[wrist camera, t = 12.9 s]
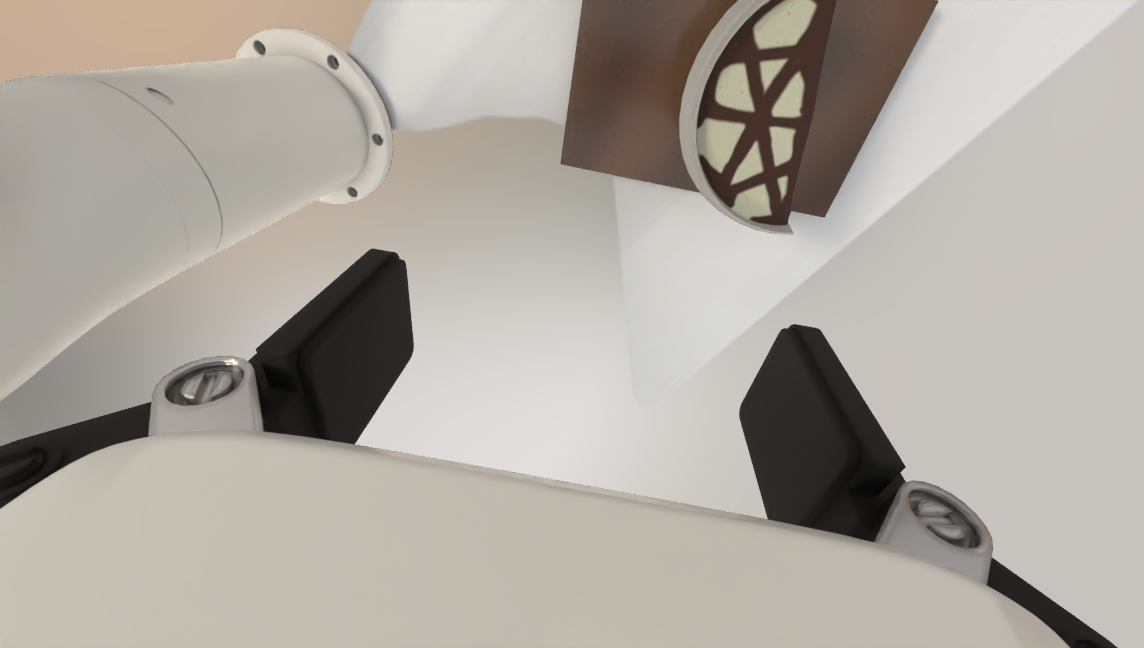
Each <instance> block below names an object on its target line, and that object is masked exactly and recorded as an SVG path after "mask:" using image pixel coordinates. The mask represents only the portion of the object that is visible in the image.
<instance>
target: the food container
mask: <svg viewBox="0 0 1144 648" xmlns="http://www.w3.org/2000/svg"><path fill="white" fill-rule="evenodd" d="M835 5H836V0H738V1H737V2H736V3H735V4H734V5H733V6H732V7H731V8H730V9H729V10H728V11H727V12H726V13H725V14H724V16H723V17H722V18H721V20H720V21H719V22H718V23H717V25H716V26H715V27H714V29H713V30H712V31H711V32H710V34H709V36H708V37H707V39H706V41H705V43H704V44H703V46H702V48H701V49H700V51H699V53H698V54H697V57H696V59H695V61H694V64H693V66H692V68H691V71H690V73H689V75H688V79H687V82H686V86H685V89H684V93H683V96H682V103H681V110H680V117H679V129H680V143H681V149H682V155H683V158H684V161H685V164H686V167H687V170H688V173H689V175H690V176H691V178H692V180H693V182H694V184H695V185H696V187H697V189H698V190H699V191H700V192H701V193H702V195H703V196H704V197H705V198H706V200H707V201H709V202H710V203H711V204H712V205H713V206H714V207H716V208H717V209H718V210H719V211H720V212H722V213H723V214H725V215H726V216H728V217H730V218H731V219H733V220H735V221H736V222H738V223H740V224H742V225H744V226H747V227H750V228H752V229H755V230H759V231H764V232H768V233H775V234H791V235H793V232H792V230H791V227H790V225H789V223H788V218H789V215H790V212H791V203H792V197H793V193H794V188H795V184H796V180H797V176H798V172H799V168H800V163H801V159H802V155H803V152H804V148H805V144H806V141H807V137H808V133H809V130H810V126H811V122H812V118H813V114H814V108H815V103H816V97H817V91H818V86H819V80H820V75H821V70H822V65H823V60H824V55H825V50H826V46H827V41H828V37H829V32H830V27H831V23H832V18H833V14H834V9H835Z"/></svg>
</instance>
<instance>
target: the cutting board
mask: <svg viewBox="0 0 1144 648" xmlns="http://www.w3.org/2000/svg"><path fill="white" fill-rule="evenodd" d="M737 1H738V0H583V2H582V9H581V17H580V24H579V31H578V39H577V46H576V53H575V61H574V68H573V76H572V83H571V90H570V98H569V105H568V112H567V120H566V127H565V135H564V143H563V150H562V157H561V164H562V165H567V166H572V167H577V168H582V169H587V170H592V171H597V172H602V173H607V174H612V175H616V176H621V177H626V178H631V179H636V180H641V181H646V182H651V183H656V184H661V185H666V186H671V187H676V188H681V189H686V190H691V191H695V192H700V191H699V190H698V189H697V187H696V185H695V184H694V182H693V180H692V178H691V176H690V175H689V173H688V170H687V167H686V164H685V161H684V158H683V155H682V149H681V143H680V129H679V117H680V110H681V103H682V96H683V93H684V89H685V86H686V82H687V79H688V75H689V73H690V71H691V68H692V66H693V64H694V61H695V59H696V57H697V54H698V53H699V51H700V49H701V48H702V46H703V44H704V43H705V41H706V39H707V37H708V36H709V34H710V32H711V31H712V30H713V29H714V27H715V26H716V25H717V23H718V22H719V21H720V20H721V18H722V17H723V16H724V14H725V13H726V12H727V11H728V10H729V9H730V8H731V7H732V6H733V5H734V4H735V3H736V2H737ZM937 3H938V0H836V5H835V9H834V14H833V18H832V23H831V27H830V32H829V37H828V41H827V46H826V50H825V55H824V60H823V65H822V70H821V75H820V80H819V86H818V91H817V97H816V103H815V108H814V114H813V118H812V122H811V126H810V130H809V133H808V137H807V141H806V144H805V148H804V152H803V155H802V159H801V163H800V168H799V172H798V176H797V180H796V184H795V188H794V193H793V197H792V203H791V211H794V212H799V213H804V214H809V215H814V216H819V217H825V215H826V213H827V212H828V210H829V208H830V206H831V204H832V202H833V200H834V198H835V196H836V195H837V193H838V191H839V189H840V187H841V185H842V183H843V181H844V179H845V177H846V176H847V174H848V172H849V170H850V168H851V166H852V164H853V162H854V160H855V158H856V157H857V155H858V153H859V151H860V149H861V147H862V145H863V143H864V141H865V140H866V138H867V136H868V134H869V132H870V130H871V128H872V126H873V124H874V122H875V121H876V119H877V117H878V115H879V113H880V111H881V109H882V107H883V105H884V104H885V102H886V100H887V98H888V96H889V94H890V92H891V90H892V88H893V86H894V85H895V83H896V81H897V79H898V77H899V75H900V73H901V71H902V69H903V68H904V66H905V64H906V62H907V60H908V58H909V56H910V54H911V52H912V50H913V49H914V47H915V45H916V43H917V41H918V39H919V37H920V35H921V33H922V31H923V30H924V28H925V26H926V24H927V22H928V20H929V18H930V16H931V14H932V13H933V11H934V9H935V7H936V5H937ZM700 193H701V192H700Z"/></svg>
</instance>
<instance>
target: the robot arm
mask: <svg viewBox="0 0 1144 648" xmlns="http://www.w3.org/2000/svg"><path fill="white" fill-rule="evenodd" d="M338 62H339V63H338ZM381 137H382V138H381ZM382 139H383V140H382ZM392 155H393V136H392V130H391V125H390V121H389V117H388V114H387V112H386V109H385V107H384V104H383V101H382V99H381V98H380V96H379V94H378V92H377V90H376V89H375V87H374V85H373V83H372V82H371V81H370V79H369V78H368V77H367V75H366V74H365V73H364V71H363V70H362V69H361V68H360V67H359V66H358V65H357V64H356V63H355V62H354V61H353V60H352V58H351V57H350V56H349V55H348V54H346V53H345V52H344V51H342V50H341V49H339V48H338V47H337V46H335V45H334V44H333V43H331V42H329V41H328V40H326V39H324V38H322V37H320V36H318V35H316V34H313V33H310V32H307V31H303V30H300V29H288V28H279V29H268V30H265V31H262V32H259V33H256V34H254V35H253V36H252V37H251V38H249V39H248V40H246V41H245V42H244V44H243V45H242V46H241V47H240V49H239V50H238V52H237V53H236V56H235V58H234V59H226V60H213V61H202V62H190V63H179V64H167V65H156V66H143V67H133V68H120V69H109V70H97V71H86V72H74V73H63V74H52V75H40V76H29V77H24V78H18V79H13V80H9V81H5V82H2V83H0V401H1V400H2V399H4V398H5V397H6V396H7V395H9V394H10V393H11V392H13V391H14V390H16V389H17V388H18V387H19V386H21V385H22V384H23V383H24V382H25V381H27V380H28V379H29V378H31V377H32V376H33V375H34V374H35V373H36V372H38V371H39V370H40V369H41V368H43V367H44V366H45V365H46V364H47V363H49V362H50V361H51V360H52V359H53V358H54V357H56V356H57V355H58V354H59V353H61V352H62V351H63V350H64V349H65V348H66V347H68V346H69V345H70V344H72V343H73V342H74V341H75V340H77V339H78V338H79V337H80V336H82V335H83V334H84V333H86V332H87V331H88V330H89V329H91V328H92V327H93V326H95V325H96V324H97V323H99V322H101V321H102V320H103V319H105V318H106V317H108V316H109V315H111V314H112V313H113V312H115V311H116V310H118V309H120V308H121V307H123V306H124V305H126V304H128V303H129V302H131V301H132V300H134V299H135V298H137V297H139V296H140V295H142V294H144V293H145V292H147V291H148V290H150V289H152V288H154V287H156V286H157V285H159V284H161V283H163V282H165V281H166V280H168V279H170V278H172V277H173V276H175V275H177V274H179V273H181V272H182V271H184V270H186V269H188V268H190V267H192V266H193V265H196V264H197V263H199V262H201V261H203V260H205V259H207V258H208V257H211V256H213V255H215V254H217V253H219V252H220V251H222V250H224V249H226V248H228V247H230V246H232V245H233V244H235V243H237V242H239V241H241V240H243V239H245V238H247V237H249V236H250V235H252V234H254V233H256V232H258V231H260V230H261V229H263V228H265V227H267V226H269V225H271V224H273V223H275V222H276V221H278V220H280V219H282V218H284V217H286V216H287V215H289V214H291V213H293V212H295V211H297V210H299V209H301V208H302V207H304V206H306V205H308V204H310V203H312V202H314V201H315V200H318V201H321V202H325V203H333V204H346V203H352V202H355V201H358V200H361V199H363V198H365V197H366V196H368V195H370V194H371V193H373V192H374V191H375V190H376V189H377V188H378V187H380V185H381V184H382V182H383V181H384V179H385V178H386V177H387V174H388V171H389V169H390V166H391V162H392ZM413 348H414V343H413V333H412V322H411V311H410V301H409V291H408V280H407V269H406V263H405V261H404V260H401V259H399V256H398V254H397V253H395V252H389V251H384V250H378V249H370V250H369V251H368V252H366V253H365V254H364V255H363V256H362V257H361V258H360V259H359V260H357V261H356V262H355V263H354V264H353V265H352V266H350V267H349V268H348V269H347V270H346V271H345V272H344V273H343V274H341V275H340V276H339V277H338V278H337V279H336V280H334V281H333V282H332V283H331V284H330V285H329V286H328V287H326V288H325V289H324V290H323V291H322V292H321V293H320V294H318V295H317V296H316V297H315V298H314V299H313V300H311V301H310V302H309V303H308V304H307V305H306V306H305V307H304V308H302V309H301V310H300V311H299V312H298V313H297V314H295V315H294V316H293V317H292V318H291V319H290V320H289V321H288V322H286V323H285V324H284V325H283V326H282V327H281V328H279V329H278V330H277V331H276V332H275V333H274V334H273V335H271V336H270V337H269V338H268V339H267V340H266V341H264V342H263V343H262V344H261V345H260V346H259V347H258V348H257V349H256V351H257V354H255V355H254V356H253V357H252V358H251V359H250V360H249V361H248V362H247V361H246V360H244V359H242V358H238V357H234V356H216V357H209V358H203V359H200V360H196V361H193V362H190V363H188V364H185V365H183V366H181V367H179V368H177V369H175V370H173V371H172V372H171V373H169V374H168V375H166V376H165V377H163V378H162V379H161V381H160V382H159V383H158V384H157V385H156V386H155V389H154V391H153V394H152V401H151V402H149V403H146V404H143V405H139V406H135V407H132V408H128V409H125V410H121V411H118V412H114V413H111V414H108V415H104V416H100V417H97V418H93V419H90V420H86V421H83V422H80V423H76V424H72V425H69V426H66V427H62V428H59V429H55V430H52V431H48V432H45V433H41V434H38V435H34V436H31V437H27V438H24V439H20V440H17V441H14V442H11V443H9V444H6V445H3V446H0V648H1117V647H1116V646H1115V645H1114V644H1112V643H1111V642H1110V641H1109V640H1107V639H1106V638H1104V637H1103V636H1102V635H1100V634H1099V633H1097V632H1096V631H1094V630H1093V629H1092V628H1090V627H1089V626H1087V625H1086V624H1085V623H1083V622H1082V621H1080V620H1079V619H1078V618H1076V617H1075V616H1074V615H1072V614H1071V613H1069V612H1068V611H1066V610H1065V609H1064V608H1062V607H1061V606H1059V605H1058V604H1057V603H1055V602H1054V601H1052V600H1051V599H1050V598H1048V597H1047V596H1045V595H1044V594H1043V593H1041V592H1040V591H1038V590H1037V589H1036V588H1034V587H1033V586H1031V585H1030V584H1028V583H1027V582H1026V581H1024V580H1023V579H1021V578H1020V577H1019V576H1017V575H1016V574H1014V573H1013V572H1012V571H1010V570H1009V569H1007V568H1006V567H1005V566H1003V565H1001V564H1000V563H999V562H998V561H996V560H995V559H993V558H992V552H993V544H992V537H991V536H990V533H989V531H988V529H987V527H986V526H985V524H984V523H983V522H982V521H981V519H980V518H979V517H978V515H977V514H976V513H975V512H973V511H972V510H971V509H970V508H969V507H968V506H967V505H966V504H965V503H964V502H962V501H961V500H959V499H958V498H957V497H955V496H954V495H952V494H951V493H949V492H947V491H945V490H943V489H941V488H940V487H938V486H935V485H932V484H929V483H926V482H922V481H909V482H905V480H904V478H903V477H902V475H901V473H900V472H901V471H902V470H903V469H904V468H905V465H904V463H903V462H902V460H901V459H900V457H899V455H898V454H897V452H896V451H895V449H894V448H893V446H892V444H891V443H890V441H889V439H888V438H887V436H886V435H885V433H884V431H883V430H882V428H881V427H880V425H879V423H878V422H877V420H876V418H875V417H874V415H873V414H872V412H871V410H870V409H869V407H868V406H867V404H866V402H865V401H864V400H863V398H862V396H861V394H860V393H859V391H858V390H857V388H856V386H855V385H854V383H853V382H852V380H851V378H850V377H849V375H848V374H847V372H846V370H845V369H844V367H843V366H842V364H841V362H840V361H839V359H838V357H837V356H836V354H835V353H834V351H833V349H832V348H831V346H830V345H829V343H828V341H827V340H826V338H825V337H824V335H823V334H822V332H821V331H820V330H819V329H818V328H813V327H807V326H802V325H796V324H793V325H791V326H790V327H789V328H788V329H785V328H784V329H782V330H781V331H780V333H779V334H778V336H777V338H776V340H775V342H774V344H773V345H772V347H771V349H770V351H769V353H768V355H767V357H766V359H765V361H764V362H763V364H762V366H761V368H760V370H759V372H758V374H757V376H756V377H755V379H754V381H753V383H752V385H751V387H750V389H749V391H748V393H747V394H746V397H745V398H744V400H743V402H742V404H741V407H740V412H739V416H740V421H741V425H742V428H743V432H744V436H745V439H746V442H747V446H748V450H749V453H750V457H751V460H752V464H753V468H754V471H755V475H756V478H757V482H758V485H759V489H760V493H761V496H762V499H763V503H764V507H765V511H766V514H767V518H768V519H762V518H757V517H752V516H747V515H742V514H736V513H731V512H726V511H720V510H715V509H710V508H704V507H699V506H693V505H688V504H683V503H677V502H672V501H667V500H662V499H656V498H651V497H645V496H640V495H635V494H629V493H624V492H619V491H613V490H608V489H602V488H597V487H591V486H586V485H580V484H574V483H570V482H564V481H559V480H553V479H548V478H542V477H536V476H530V475H525V474H520V473H515V472H509V471H503V470H498V469H492V468H486V467H481V466H475V465H470V464H464V463H458V462H453V461H447V460H441V459H436V458H430V457H425V456H419V455H413V454H408V453H402V452H396V451H390V450H385V449H379V448H373V447H366V446H360V445H355V443H356V441H357V440H358V438H359V437H360V435H361V434H362V432H363V431H364V429H365V428H366V426H367V424H368V423H369V421H370V420H371V418H372V417H373V415H374V414H375V412H376V411H377V409H378V408H379V406H380V405H381V403H382V402H383V400H384V398H385V397H386V395H387V394H388V392H389V391H390V389H391V388H392V386H393V385H394V383H395V382H396V380H397V379H398V377H399V375H400V374H401V372H402V371H403V369H404V368H405V366H406V365H407V363H408V362H409V360H410V358H411V356H412V353H413Z"/></svg>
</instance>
